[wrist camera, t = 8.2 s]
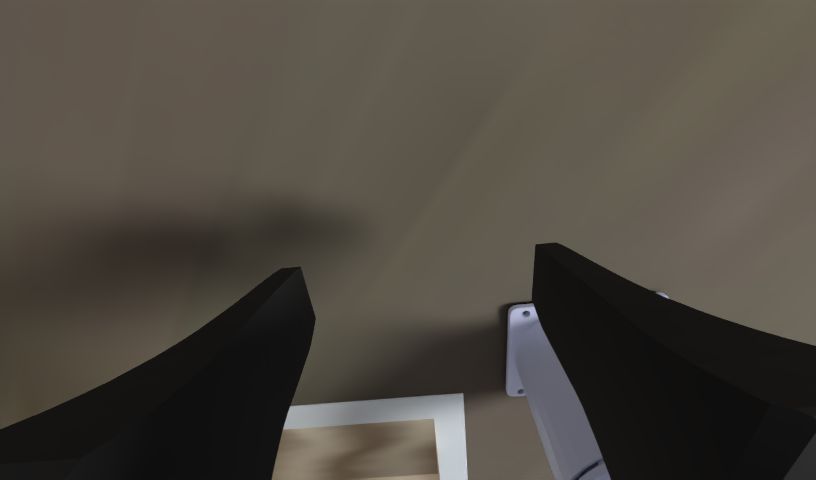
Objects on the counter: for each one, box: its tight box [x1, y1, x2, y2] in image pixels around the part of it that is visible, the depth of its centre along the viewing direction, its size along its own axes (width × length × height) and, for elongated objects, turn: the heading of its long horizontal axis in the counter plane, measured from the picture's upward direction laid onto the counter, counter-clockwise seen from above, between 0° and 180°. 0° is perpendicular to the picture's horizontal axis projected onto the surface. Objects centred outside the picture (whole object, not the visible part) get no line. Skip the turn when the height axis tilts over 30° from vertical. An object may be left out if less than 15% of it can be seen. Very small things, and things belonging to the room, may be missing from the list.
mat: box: [283, 393, 468, 480], centre depth 30 cm, size 16×16×1 cm
